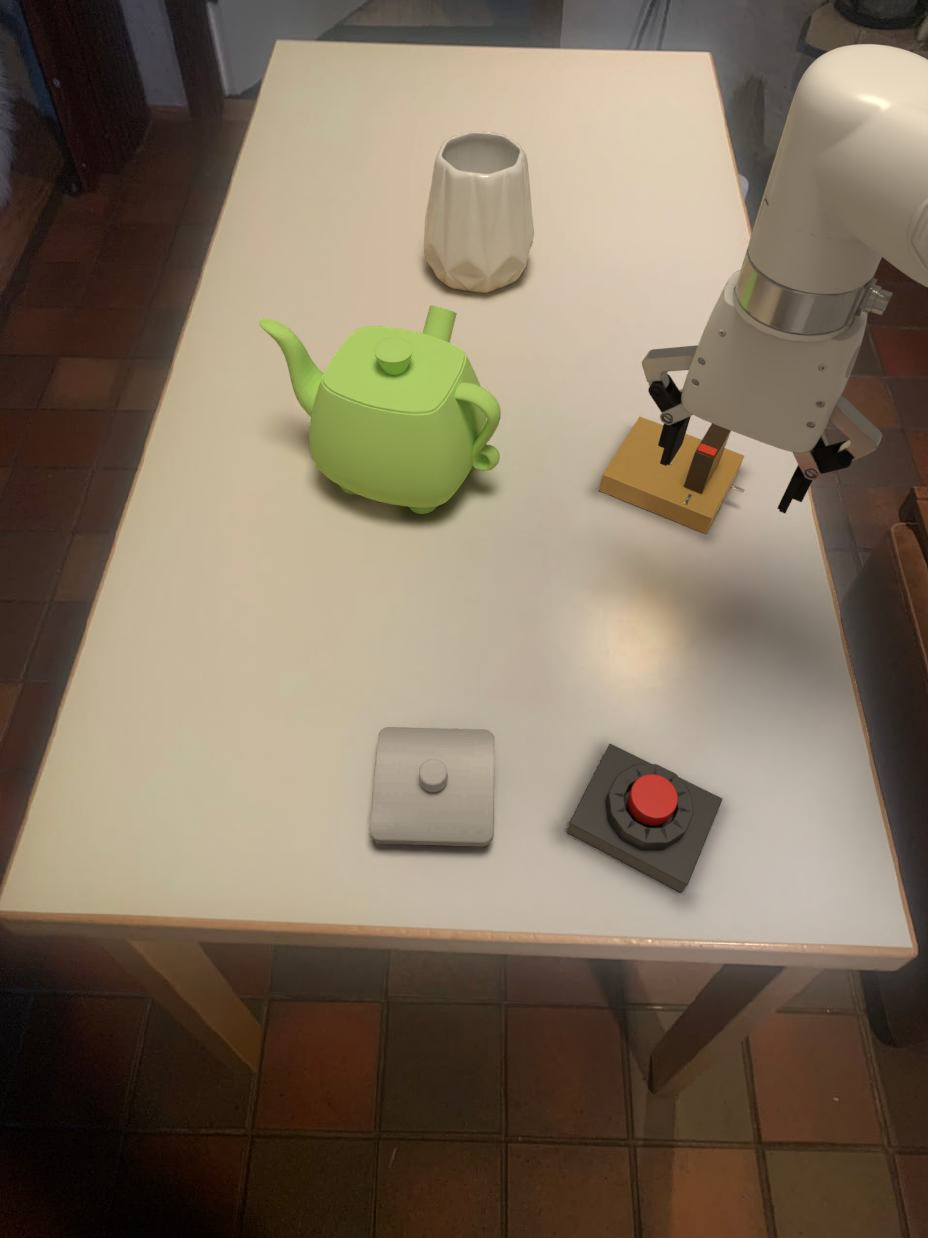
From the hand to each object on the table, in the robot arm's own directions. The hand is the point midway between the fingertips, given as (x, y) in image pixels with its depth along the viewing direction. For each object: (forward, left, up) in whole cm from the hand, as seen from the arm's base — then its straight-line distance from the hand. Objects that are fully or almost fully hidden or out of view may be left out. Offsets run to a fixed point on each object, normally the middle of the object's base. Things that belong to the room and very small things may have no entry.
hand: (727, 476), depth 66 cm
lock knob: (+4, -15, -15) cm, 22 cm away
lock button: (-5, +22, -14) cm, 26 cm away
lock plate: (+7, -15, -18) cm, 24 cm away
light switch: (+11, +28, -18) cm, 35 cm away
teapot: (+35, -5, -18) cm, 39 cm away
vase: (+43, -38, -18) cm, 60 cm away
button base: (-5, +22, -18) cm, 29 cm away
